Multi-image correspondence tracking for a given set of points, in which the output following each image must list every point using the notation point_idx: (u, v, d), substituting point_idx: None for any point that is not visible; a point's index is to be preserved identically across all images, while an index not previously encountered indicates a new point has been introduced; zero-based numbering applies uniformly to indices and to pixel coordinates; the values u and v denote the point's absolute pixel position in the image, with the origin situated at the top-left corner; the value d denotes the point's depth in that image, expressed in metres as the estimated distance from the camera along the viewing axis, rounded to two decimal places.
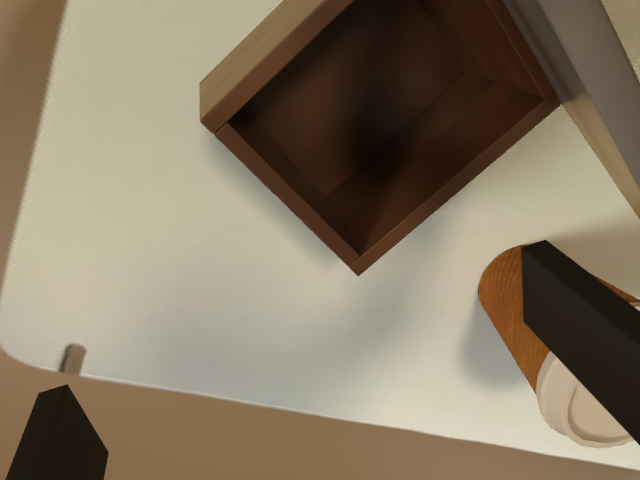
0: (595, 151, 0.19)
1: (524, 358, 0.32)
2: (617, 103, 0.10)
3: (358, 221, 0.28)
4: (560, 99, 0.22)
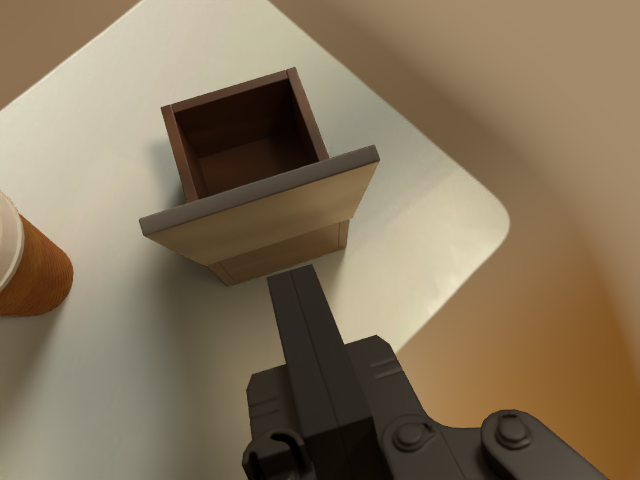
0: None
1: None
2: (316, 169, 0.23)
3: (186, 140, 0.41)
4: None
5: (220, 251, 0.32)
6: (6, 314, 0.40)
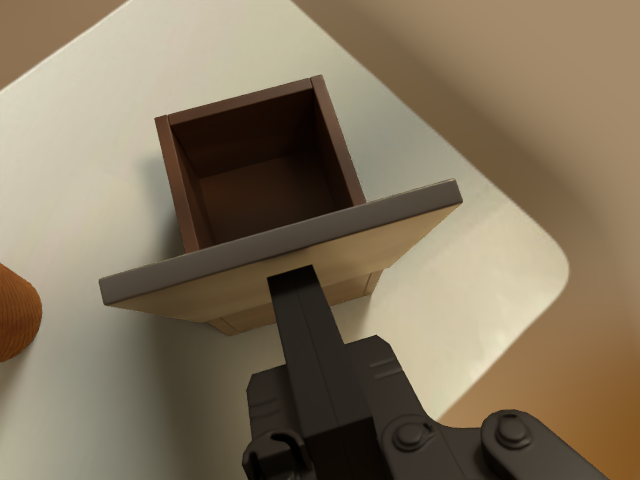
0: None
1: None
2: (369, 213, 0.15)
3: (184, 158, 0.34)
4: None
5: (221, 309, 0.24)
6: None
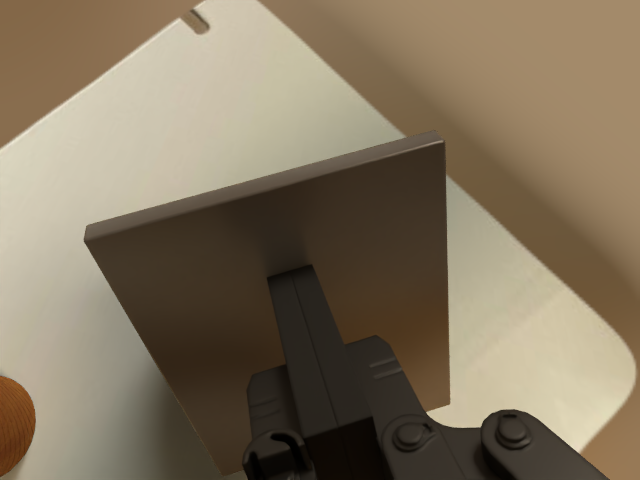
0: None
1: None
2: (350, 157, 0.15)
3: None
4: None
5: (238, 417, 0.21)
6: None
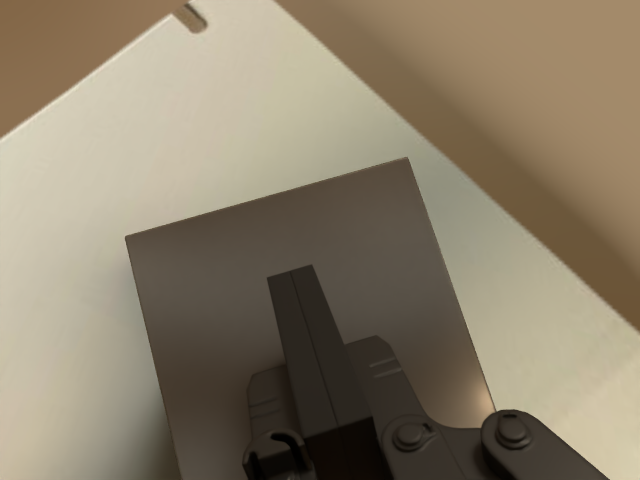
0: None
1: None
2: None
3: None
4: None
5: None
6: None
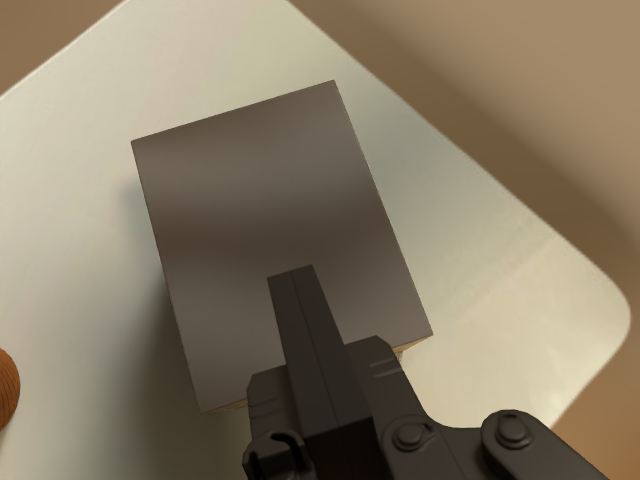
0: None
1: None
2: None
3: None
4: None
5: (216, 317, 0.23)
6: None
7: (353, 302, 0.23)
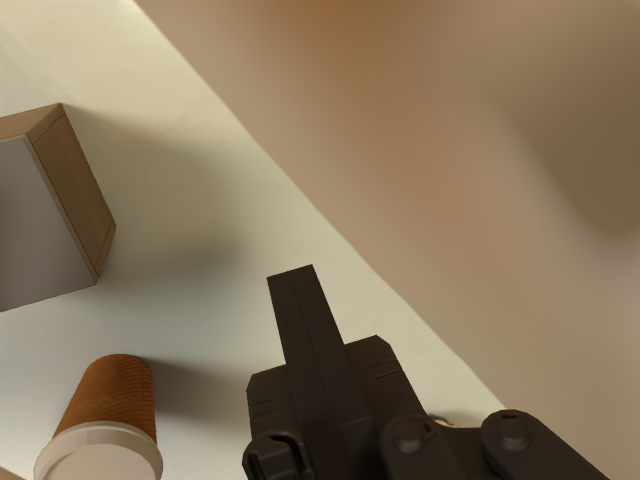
0: None
1: None
2: None
3: None
4: None
5: (29, 279, 0.34)
6: (153, 404, 0.48)
7: (4, 192, 0.32)
